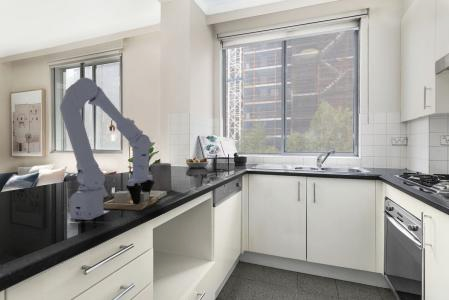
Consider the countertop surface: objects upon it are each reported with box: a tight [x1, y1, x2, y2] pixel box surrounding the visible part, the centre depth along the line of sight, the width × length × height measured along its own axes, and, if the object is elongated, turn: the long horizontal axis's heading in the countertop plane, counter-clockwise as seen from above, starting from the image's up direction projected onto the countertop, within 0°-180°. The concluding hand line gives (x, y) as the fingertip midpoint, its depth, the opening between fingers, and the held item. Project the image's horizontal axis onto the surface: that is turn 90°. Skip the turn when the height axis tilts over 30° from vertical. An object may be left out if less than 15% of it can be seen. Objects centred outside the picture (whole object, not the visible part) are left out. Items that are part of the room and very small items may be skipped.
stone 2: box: [139, 191, 149, 204], centre depth 91 cm, size 4×4×4 cm
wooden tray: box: [103, 195, 159, 211], centre depth 92 cm, size 14×15×2 cm
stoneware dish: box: [150, 190, 168, 200], centre depth 104 cm, size 11×11×2 cm
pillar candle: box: [150, 162, 172, 193], centre depth 119 cm, size 10×10×15 cm
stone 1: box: [113, 190, 130, 204], centre depth 92 cm, size 4×4×4 cm
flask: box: [102, 183, 109, 199], centre depth 105 cm, size 7×7×10 cm
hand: (141, 201), depth 91 cm, fingers open, 6 cm apart
